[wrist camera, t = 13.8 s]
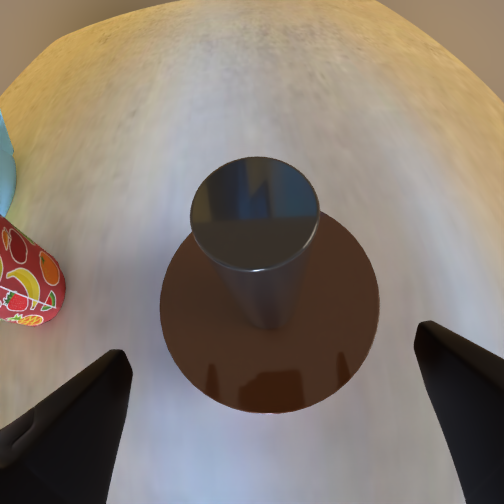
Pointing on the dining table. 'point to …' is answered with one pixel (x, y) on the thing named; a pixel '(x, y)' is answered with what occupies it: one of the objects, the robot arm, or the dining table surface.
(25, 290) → the smoothie
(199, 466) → the dining table surface
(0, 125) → the teapot
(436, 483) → the dining table surface
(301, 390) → the brown disc with post
